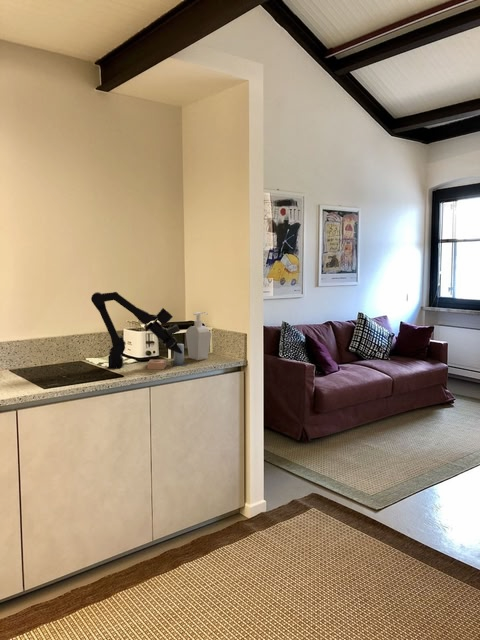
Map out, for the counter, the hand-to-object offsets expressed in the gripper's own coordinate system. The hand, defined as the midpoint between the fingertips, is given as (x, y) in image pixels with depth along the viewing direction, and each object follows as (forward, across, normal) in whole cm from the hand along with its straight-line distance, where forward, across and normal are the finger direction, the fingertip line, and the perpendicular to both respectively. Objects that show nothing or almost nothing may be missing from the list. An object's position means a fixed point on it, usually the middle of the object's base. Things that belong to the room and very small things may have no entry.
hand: (180, 351), depth 271 cm
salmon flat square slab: (-4, -5, +14) cm, 15 cm away
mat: (+4, 0, +6) cm, 7 cm away
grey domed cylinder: (+4, 0, +6) cm, 7 cm away
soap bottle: (+14, +15, -3) cm, 21 cm away
